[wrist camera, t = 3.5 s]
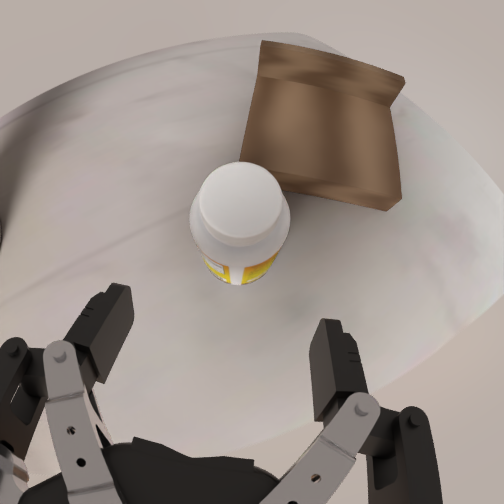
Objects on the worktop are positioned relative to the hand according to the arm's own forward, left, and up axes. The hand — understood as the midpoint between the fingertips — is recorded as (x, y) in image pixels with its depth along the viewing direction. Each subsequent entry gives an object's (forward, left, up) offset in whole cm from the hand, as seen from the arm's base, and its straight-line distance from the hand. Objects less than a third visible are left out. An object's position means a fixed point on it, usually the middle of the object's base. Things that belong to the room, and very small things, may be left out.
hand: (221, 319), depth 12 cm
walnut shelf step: (+6, +18, -10) cm, 21 cm away
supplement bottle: (0, +6, -11) cm, 12 cm away
